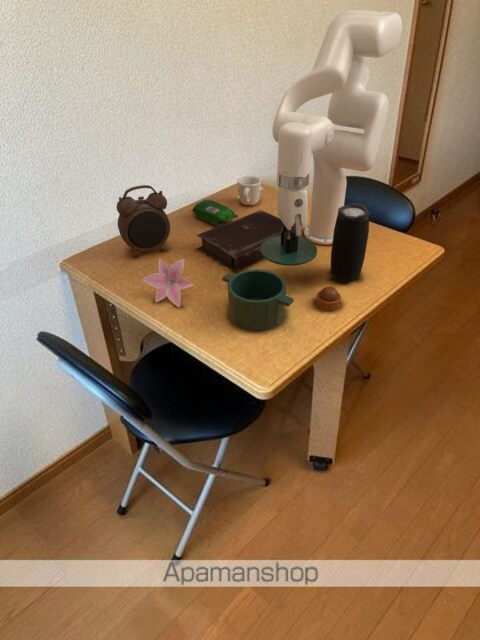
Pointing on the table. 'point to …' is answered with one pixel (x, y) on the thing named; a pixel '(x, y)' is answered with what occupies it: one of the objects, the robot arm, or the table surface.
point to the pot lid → (278, 255)
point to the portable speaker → (349, 242)
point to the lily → (169, 281)
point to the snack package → (213, 212)
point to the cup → (249, 189)
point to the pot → (256, 299)
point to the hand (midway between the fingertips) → (288, 247)
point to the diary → (240, 239)
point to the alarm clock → (143, 221)
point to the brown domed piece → (328, 299)
